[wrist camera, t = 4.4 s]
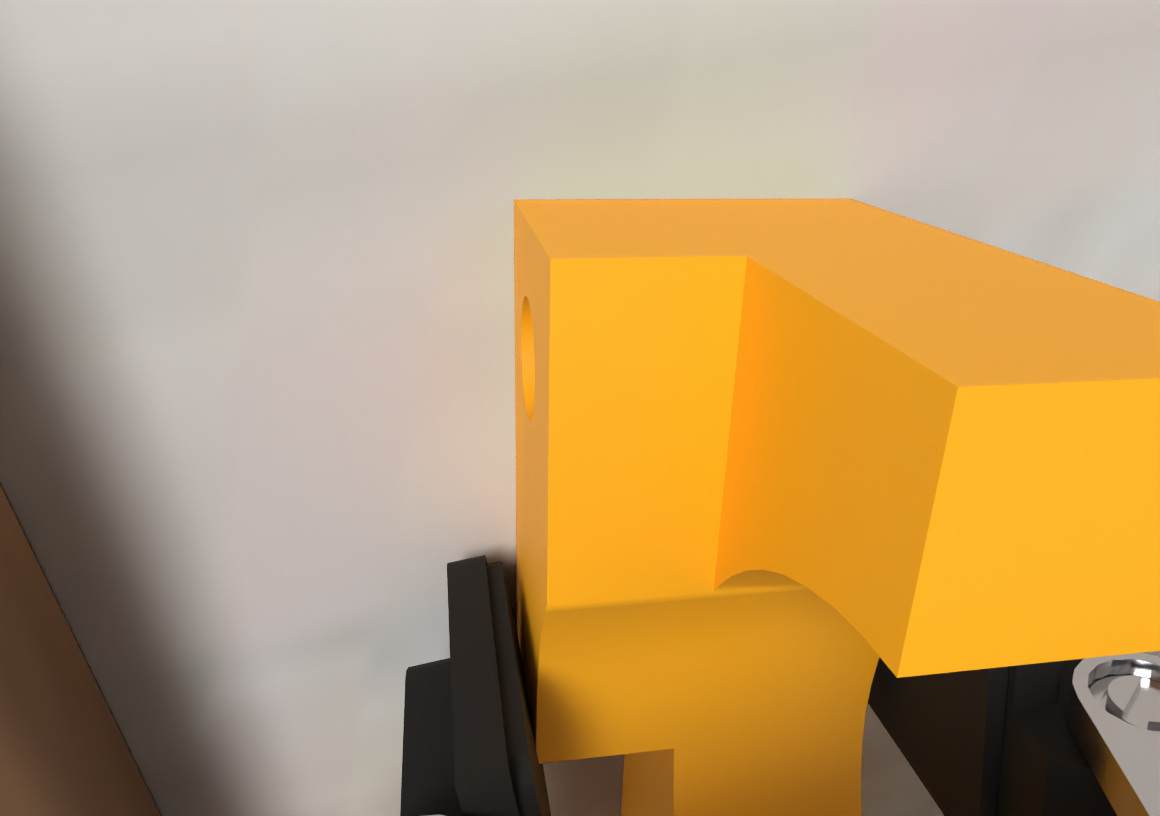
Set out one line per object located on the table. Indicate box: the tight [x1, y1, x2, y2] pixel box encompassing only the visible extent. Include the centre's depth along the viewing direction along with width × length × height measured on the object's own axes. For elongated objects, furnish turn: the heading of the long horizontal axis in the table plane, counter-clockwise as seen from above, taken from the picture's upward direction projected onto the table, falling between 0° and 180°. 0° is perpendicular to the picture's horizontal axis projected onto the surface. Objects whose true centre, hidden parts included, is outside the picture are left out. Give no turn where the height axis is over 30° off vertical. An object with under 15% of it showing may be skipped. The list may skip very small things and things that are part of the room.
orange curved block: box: [514, 199, 1160, 816], centre depth 10 cm, size 12×4×6 cm, turn 179°
